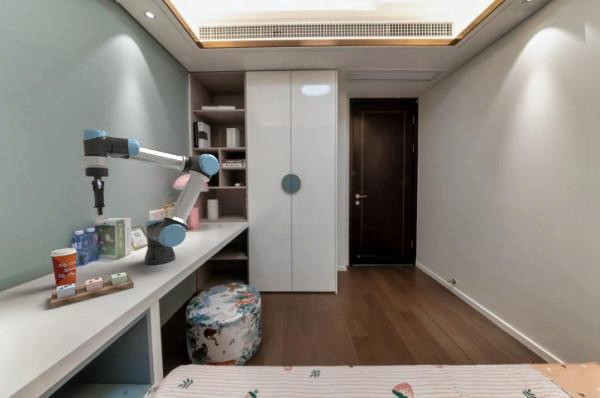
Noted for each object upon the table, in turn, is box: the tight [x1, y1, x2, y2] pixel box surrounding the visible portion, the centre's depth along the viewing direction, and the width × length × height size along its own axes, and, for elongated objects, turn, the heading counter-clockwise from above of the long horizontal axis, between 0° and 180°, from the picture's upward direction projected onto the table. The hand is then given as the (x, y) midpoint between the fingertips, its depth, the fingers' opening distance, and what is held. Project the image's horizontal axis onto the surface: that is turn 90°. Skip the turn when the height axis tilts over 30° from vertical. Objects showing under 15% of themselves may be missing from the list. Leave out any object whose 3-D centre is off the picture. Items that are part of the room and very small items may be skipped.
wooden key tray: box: [50, 274, 135, 309], centre depth 97 cm, size 24×12×2 cm, turn 134°
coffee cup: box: [49, 247, 78, 288], centre depth 104 cm, size 8×8×15 cm
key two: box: [85, 276, 103, 291], centre depth 96 cm, size 5×5×4 cm
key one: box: [110, 271, 128, 285], centre depth 102 cm, size 5×5×4 cm
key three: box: [56, 283, 76, 299], centre depth 91 cm, size 5×5×4 cm
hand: (100, 222), depth 105 cm, fingers closed
